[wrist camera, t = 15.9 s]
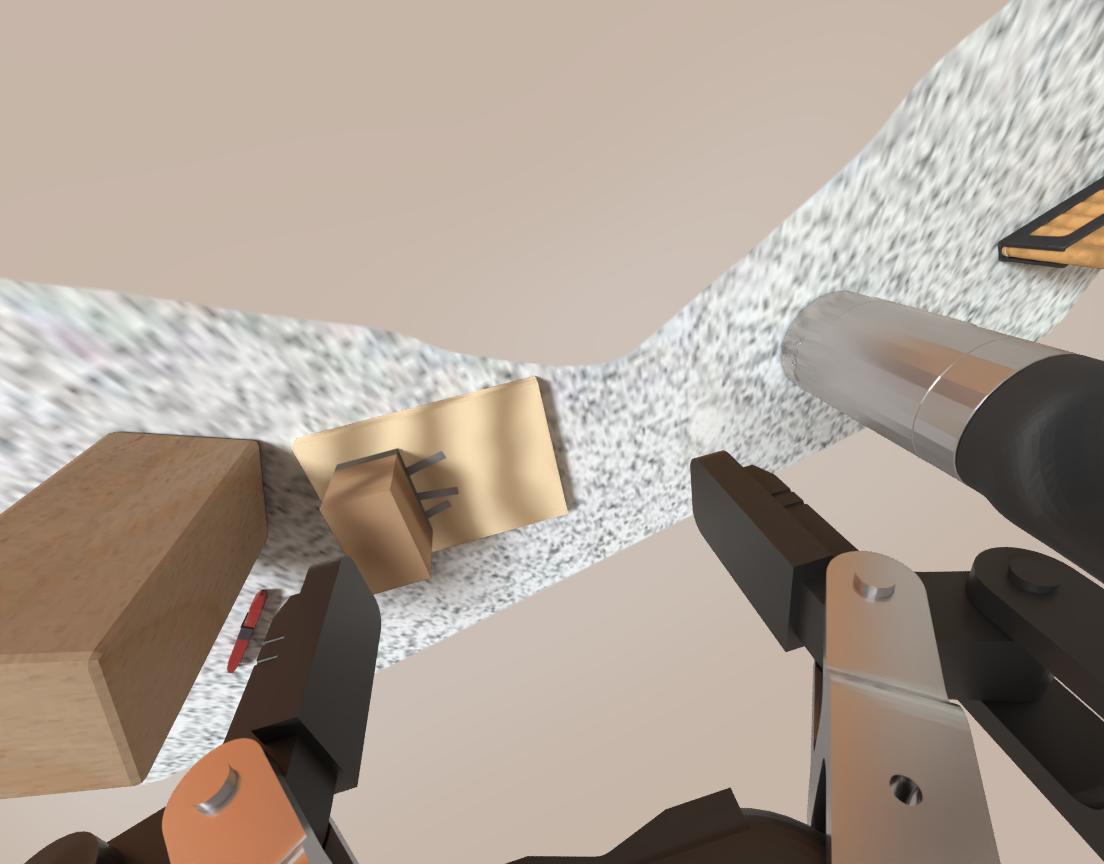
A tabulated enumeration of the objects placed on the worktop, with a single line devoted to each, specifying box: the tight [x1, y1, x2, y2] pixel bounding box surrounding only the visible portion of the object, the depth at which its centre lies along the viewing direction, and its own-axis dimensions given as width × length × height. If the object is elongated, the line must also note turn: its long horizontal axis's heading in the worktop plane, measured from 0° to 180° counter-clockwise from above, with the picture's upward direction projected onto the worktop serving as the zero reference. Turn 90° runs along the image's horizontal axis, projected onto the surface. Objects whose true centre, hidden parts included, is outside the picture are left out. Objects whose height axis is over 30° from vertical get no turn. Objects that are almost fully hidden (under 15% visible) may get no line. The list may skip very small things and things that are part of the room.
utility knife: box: [227, 590, 267, 673], centre depth 45 cm, size 12×1×2 cm, turn 150°
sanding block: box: [319, 448, 433, 595], centre depth 38 cm, size 5×9×6 cm, turn 11°
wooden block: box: [0, 432, 268, 799], centre depth 30 cm, size 10×10×20 cm
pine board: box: [291, 376, 568, 552], centre depth 41 cm, size 20×14×2 cm
